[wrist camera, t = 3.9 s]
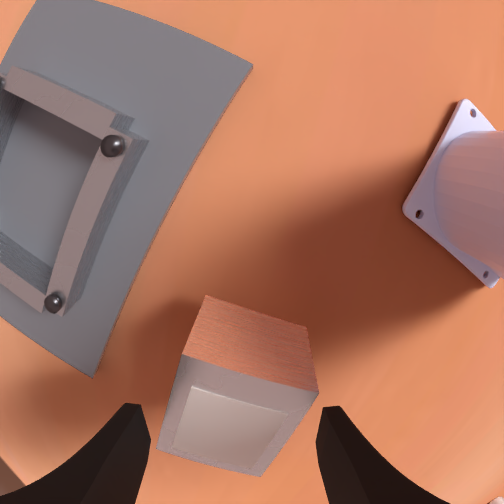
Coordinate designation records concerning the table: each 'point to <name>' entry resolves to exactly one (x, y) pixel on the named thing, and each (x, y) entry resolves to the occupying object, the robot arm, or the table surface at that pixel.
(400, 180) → the table surface
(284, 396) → the small brown box
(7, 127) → the tray
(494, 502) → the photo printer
